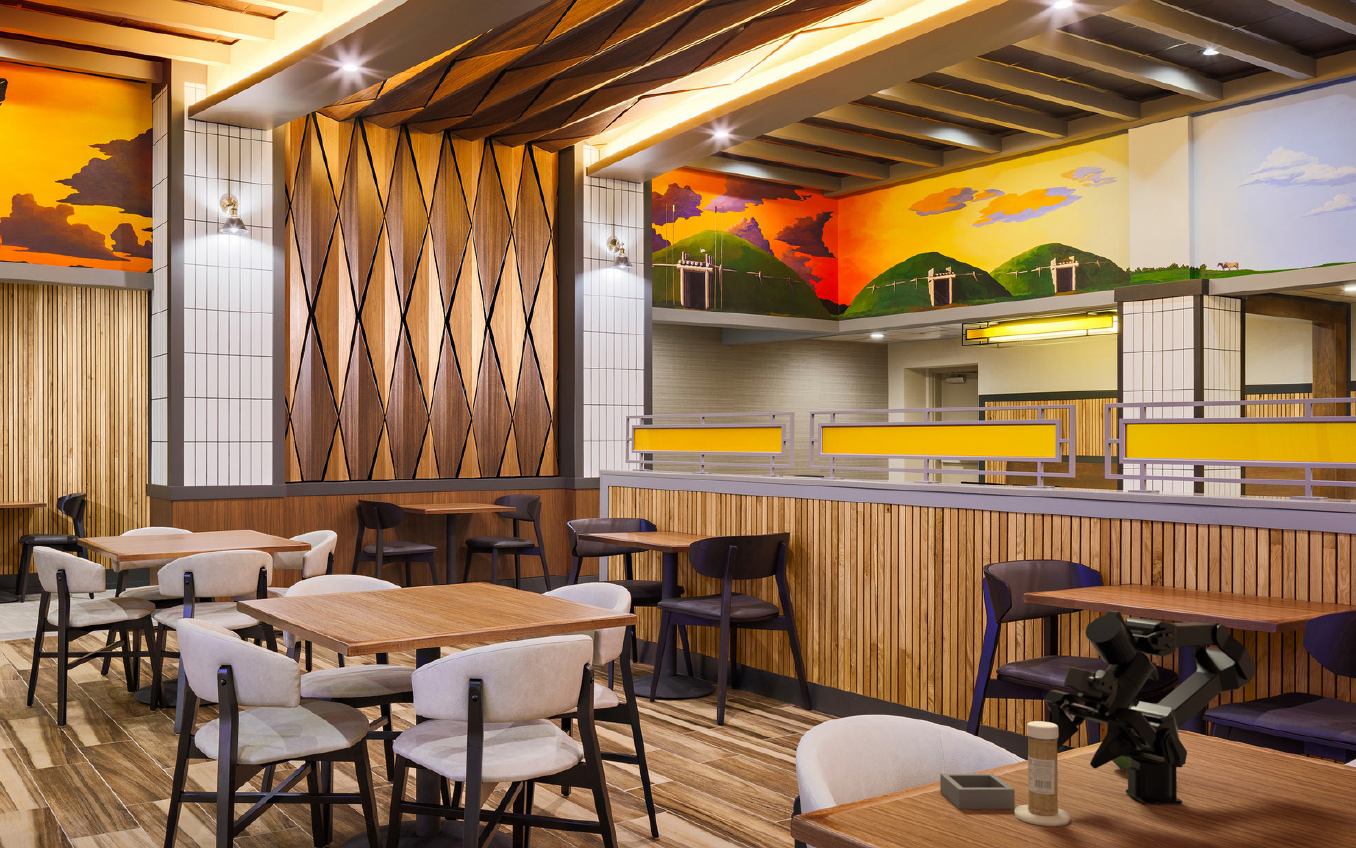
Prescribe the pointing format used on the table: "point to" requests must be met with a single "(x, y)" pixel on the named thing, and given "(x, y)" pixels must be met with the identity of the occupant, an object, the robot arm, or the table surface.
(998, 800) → the sleeve
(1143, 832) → the table surface
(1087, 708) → the robot arm
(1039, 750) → the sprinkles bottle
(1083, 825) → the table surface
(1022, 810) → the white round coaster
